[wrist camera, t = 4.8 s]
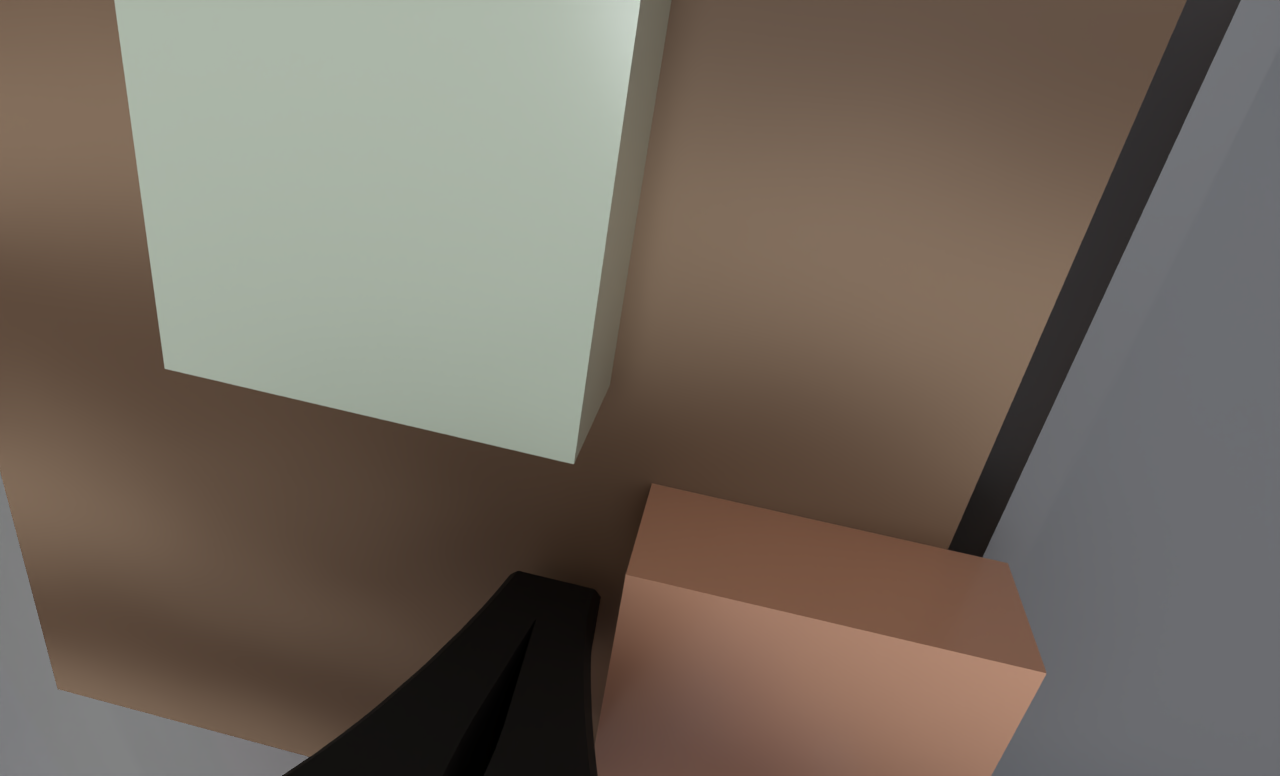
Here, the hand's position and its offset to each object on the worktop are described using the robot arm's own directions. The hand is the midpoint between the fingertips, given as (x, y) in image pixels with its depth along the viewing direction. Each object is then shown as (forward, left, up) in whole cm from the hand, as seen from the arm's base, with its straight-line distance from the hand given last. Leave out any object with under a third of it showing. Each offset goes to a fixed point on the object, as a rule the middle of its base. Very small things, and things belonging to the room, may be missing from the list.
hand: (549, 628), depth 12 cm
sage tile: (+7, +2, -1) cm, 7 cm away
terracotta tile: (0, -4, -1) cm, 4 cm away
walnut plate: (+3, +2, -4) cm, 5 cm away
